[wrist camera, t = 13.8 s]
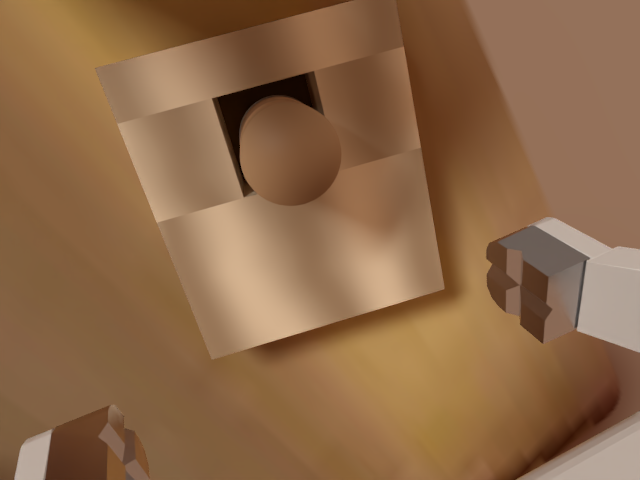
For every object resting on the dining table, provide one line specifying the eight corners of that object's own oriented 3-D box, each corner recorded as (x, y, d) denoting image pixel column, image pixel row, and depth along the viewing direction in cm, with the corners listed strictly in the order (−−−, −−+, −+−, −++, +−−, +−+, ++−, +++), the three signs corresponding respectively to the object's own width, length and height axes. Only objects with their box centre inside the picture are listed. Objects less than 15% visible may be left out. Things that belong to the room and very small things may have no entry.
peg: (251, 169, 27) (256, 219, 18) (230, 102, 26) (224, 118, 17) (315, 151, 28) (352, 191, 18) (298, 83, 26) (329, 89, 17)
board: (215, 324, 30) (211, 359, 27) (117, 68, 25) (94, 68, 21) (420, 263, 31) (444, 289, 27) (372, 1, 25) (394, -11, 22)
